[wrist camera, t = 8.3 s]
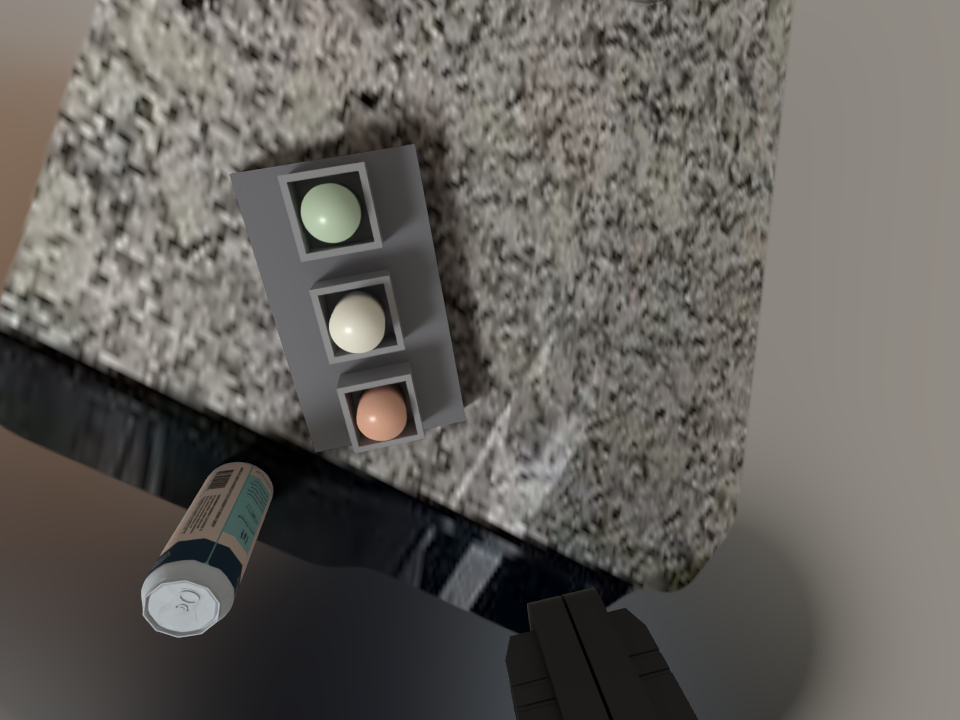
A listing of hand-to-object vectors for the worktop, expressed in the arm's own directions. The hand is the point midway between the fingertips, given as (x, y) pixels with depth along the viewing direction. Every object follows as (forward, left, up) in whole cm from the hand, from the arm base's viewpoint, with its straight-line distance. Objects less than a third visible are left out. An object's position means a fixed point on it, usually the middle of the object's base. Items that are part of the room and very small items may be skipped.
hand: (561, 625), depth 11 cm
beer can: (+18, +10, -28) cm, 35 cm away
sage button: (+6, -8, -26) cm, 27 cm away
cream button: (+6, -2, -25) cm, 25 cm away
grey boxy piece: (+6, -2, -28) cm, 29 cm away
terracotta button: (+6, +5, -26) cm, 27 cm away
